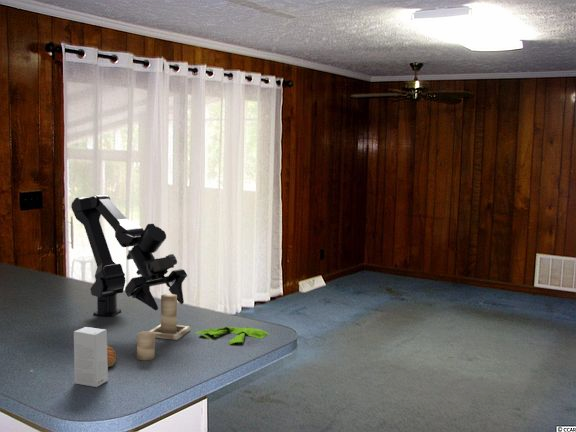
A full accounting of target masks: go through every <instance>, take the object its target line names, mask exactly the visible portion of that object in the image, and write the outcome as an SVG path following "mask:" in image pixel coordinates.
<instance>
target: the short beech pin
mask: <svg viewBox="0 0 576 432" xmlns="http://www.w3.org/2000/svg"><path fill="white" fill-rule="evenodd" d="M155 348H156V338H155V333H154V332H151V331H150V330H145V331H143V330H142V331H139V332H137V334H136V359H137V360H138V361H139V360H140V361H150V360H153V359H155V357H156V356H155V355H156V351H155V350H156V349H155Z"/></svg>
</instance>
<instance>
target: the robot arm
mask: <svg viewBox="0 0 576 432" xmlns="http://www.w3.org/2000/svg"><path fill="white" fill-rule="evenodd" d="M70 207H71V211H72V212H73V216H74V217H75V219H76V220H77V221H78V222H79V223H81V224H82V225H83V227H84V230H85V233H86V236H87V239H88V242H89V245H90V248H91V252H92V255H93V259H94V261H95V264H96V270H95V274H94V278H95V281H94V283H93V284H92V285H91V287H90V295H91V296H92V297H97V300H96V302H97V303H96V305H97V306H96V309H97V310H96V311H94V312H93V313H92V314H93V315H95V316H96V315H97V316H106V317H113V316H115V315H116V314H119V313H120V312H122V309H119V308H118V295H119V294H123V293H124V292H125V294H126V296H127V297H128V298H129V297H132V299H136V300H138V301H140V302H141V303H144V304H145V305H146V306H148V307H149V308H151V309H153V310H154V311H158V309H159V306H158V304H157V302H156V300H155V298H154V296H153V294H152V293H151V288H150V287H154V286H160V285H164V284H165V285H166V286H167V287H168V291H169V292H170V294H175V295H177V303H179V304H180V305H183V304H184V294H183V288H182V287H183V282H184V281H185V280H186V278H187V277H188V274H187V273H186V270H185V269H182V268H180V269H175V270H172V271H171V272H170V273H169V274H168V272H169V271H168V270H169V269H173V268H175V265H177V264H178V261H177V257H176V256H175V255H174V253H171V254H168V255H166V256H165V257H160V258H155V255H154V254H155V253H156V252H157V251H158V250H159V248H160V247H161V246H162V244H163V243H164V242H165V240H166V239H167V233H166V232H165V230H163V229H162V228H160V227H158V226H156V225H155V223H148V224H147V225H146V226H145V228H143V227H141V225H139V224H138V223H136V222H134V221H131V220H129V219H127V217H126V216H125V214H123V213H122V212H121V210H120V209H119V208H118V207H117V206H116V204H115V203H113V201H112V200H111V197H110V196H109V195H106V194H96V195H95V194H94V195H93V196H89V197H87V196H86V197H85V196H84V197H82V196H81V197H76V198H74V200H73V201H72V202H71V206H70ZM101 216H102V217H103V219H105V221H106V222H107V223H108V224H109V225H110V226H111V228H112V229H113V230H114V237H115V238H116V241H117V243H118V244H119V245H120V247H122V248H129V247H132V248H131V249H130V250H129V249H128V252H127V255H126V260H127V261H129V260H133V262H134V264H135V267H136V269H137V271H136V274H137V277H132V278H131V279H130V280H129V282H128V283H127V284H126V277H125V276H126V274H125V273H124V270H123V265H122V264H121V263H116V262H114V260H113V258H112V254H111V252H110V249H109V245H108V242H107V240H106V237H105V233H104V230H103V228H102V225H101V221H100V218H101ZM166 274H168V275H167V276H165V275H166ZM139 275H140V276H139Z"/></svg>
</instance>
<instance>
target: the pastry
mask: <svg viewBox="0 0 576 432" xmlns="http://www.w3.org/2000/svg"><path fill="white" fill-rule="evenodd" d="M116 361H117V353H116V352H115V348H113V347H112V346H110V345H107V365H108V368H110V367H114V365H115V363H116Z"/></svg>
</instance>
